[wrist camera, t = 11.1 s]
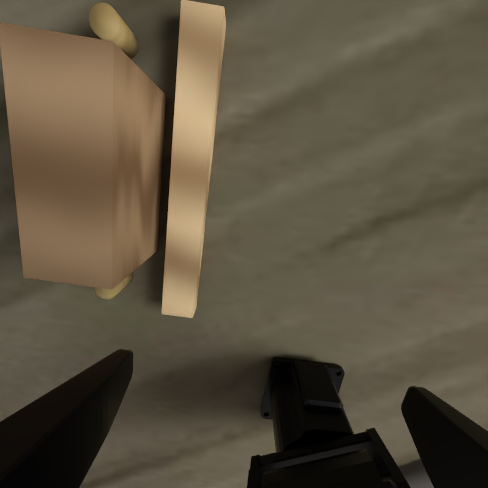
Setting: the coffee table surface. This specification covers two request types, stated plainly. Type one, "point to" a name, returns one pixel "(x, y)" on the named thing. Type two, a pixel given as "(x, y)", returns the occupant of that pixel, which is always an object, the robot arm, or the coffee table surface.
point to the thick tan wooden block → (82, 156)
